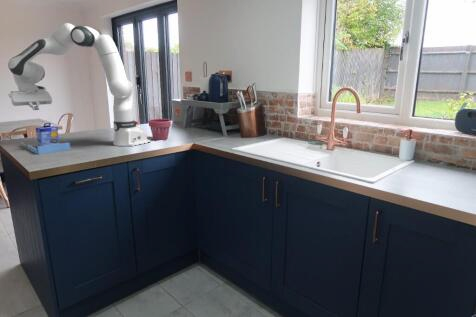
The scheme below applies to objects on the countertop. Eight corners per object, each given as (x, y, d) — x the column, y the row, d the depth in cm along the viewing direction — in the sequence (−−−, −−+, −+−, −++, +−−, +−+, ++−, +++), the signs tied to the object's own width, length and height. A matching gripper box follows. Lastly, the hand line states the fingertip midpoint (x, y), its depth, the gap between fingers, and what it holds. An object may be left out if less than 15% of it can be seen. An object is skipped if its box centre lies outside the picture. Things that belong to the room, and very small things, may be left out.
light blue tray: (50, 141, 204) (49, 135, 203) (70, 149, 183) (69, 142, 182) (19, 145, 192) (18, 138, 191) (37, 154, 172) (36, 146, 171)
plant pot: (168, 141, 210) (167, 121, 207) (146, 141, 210) (145, 121, 207) (173, 137, 224) (172, 118, 220) (152, 137, 224) (152, 118, 221)
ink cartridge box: (42, 150, 181) (39, 124, 177) (37, 149, 184) (33, 123, 180) (60, 147, 189) (57, 122, 185) (55, 146, 192) (52, 121, 188)
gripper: (7, 87, 181) (15, 106, 178) (48, 87, 196) (56, 104, 192) (6, 95, 186) (14, 114, 182) (46, 94, 200) (54, 111, 196)
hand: (36, 109), depth 187 cm, fingers closed
